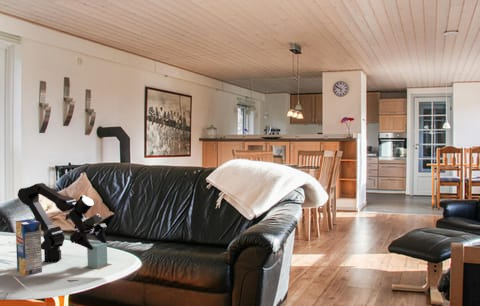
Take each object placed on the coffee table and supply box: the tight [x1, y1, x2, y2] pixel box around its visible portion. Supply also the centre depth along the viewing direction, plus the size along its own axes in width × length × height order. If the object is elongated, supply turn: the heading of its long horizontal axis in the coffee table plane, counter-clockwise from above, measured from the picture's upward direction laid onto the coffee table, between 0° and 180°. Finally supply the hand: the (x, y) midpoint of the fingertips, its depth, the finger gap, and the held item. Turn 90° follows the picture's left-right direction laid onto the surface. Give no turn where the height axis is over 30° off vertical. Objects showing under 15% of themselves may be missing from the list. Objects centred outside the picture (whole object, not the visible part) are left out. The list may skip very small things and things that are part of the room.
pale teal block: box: [86, 241, 108, 268], centre depth 216 cm, size 6×6×10 cm
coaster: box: [83, 262, 113, 270], centre depth 216 cm, size 9×9×1 cm
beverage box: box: [15, 218, 43, 276], centre depth 209 cm, size 7×11×22 cm, turn 42°
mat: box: [67, 279, 79, 283], centre depth 201 cm, size 10×10×1 cm
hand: (99, 247), depth 215 cm, fingers open, 9 cm apart
